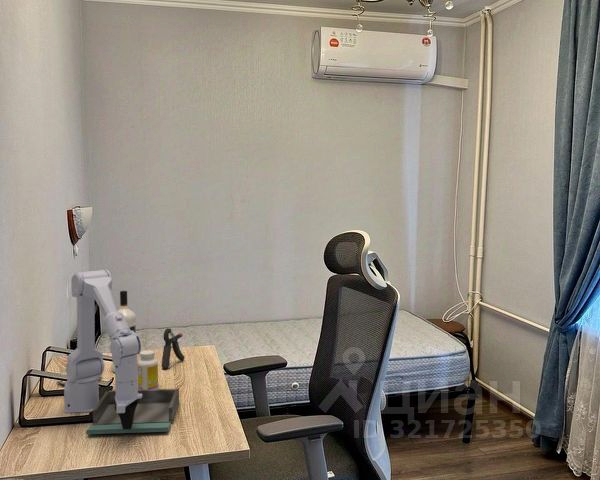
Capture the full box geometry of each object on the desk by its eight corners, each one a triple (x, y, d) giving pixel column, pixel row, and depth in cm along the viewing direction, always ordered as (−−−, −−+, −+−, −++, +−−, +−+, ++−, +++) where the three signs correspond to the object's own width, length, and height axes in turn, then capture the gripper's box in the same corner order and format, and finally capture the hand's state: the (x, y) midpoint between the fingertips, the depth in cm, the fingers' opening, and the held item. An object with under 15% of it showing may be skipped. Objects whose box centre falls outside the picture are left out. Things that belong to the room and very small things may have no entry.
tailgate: (92, 429, 149) (86, 434, 144) (92, 425, 149) (86, 430, 144) (170, 426, 151) (167, 431, 146) (170, 422, 151) (167, 427, 146)
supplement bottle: (161, 386, 183) (160, 349, 181) (154, 393, 176) (153, 355, 175) (142, 385, 183) (141, 348, 182) (134, 392, 177) (133, 354, 176)
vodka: (127, 376, 192) (125, 294, 190) (106, 372, 196) (104, 292, 193) (143, 368, 201) (141, 289, 198) (123, 365, 204) (121, 287, 202)
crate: (92, 427, 150) (92, 410, 150) (106, 406, 165) (106, 390, 165) (172, 424, 153) (172, 407, 152) (179, 404, 167) (178, 388, 167)
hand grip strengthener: (185, 360, 210) (185, 323, 209) (166, 370, 199) (165, 331, 197) (180, 360, 211) (180, 322, 210) (161, 369, 200) (160, 330, 198)
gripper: (135, 388, 137) (137, 439, 138) (146, 370, 151) (147, 416, 152) (107, 389, 136) (108, 440, 137) (121, 370, 151) (122, 417, 152)
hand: (127, 428), depth 145 cm, fingers closed
